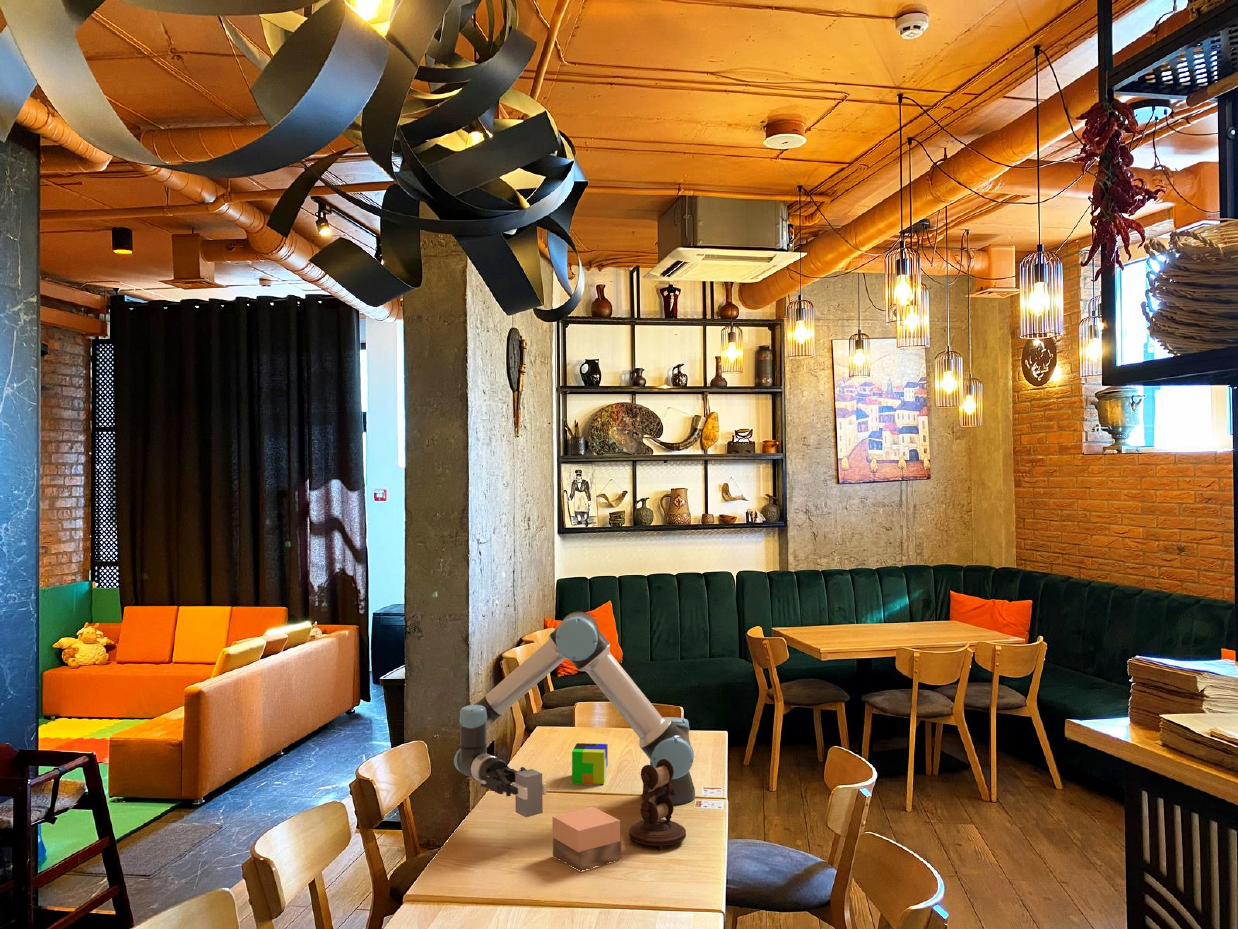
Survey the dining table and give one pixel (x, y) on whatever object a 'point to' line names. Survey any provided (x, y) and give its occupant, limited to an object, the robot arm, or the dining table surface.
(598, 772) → the puzzle toy
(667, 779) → the scroll
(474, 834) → the dining table surface
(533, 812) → the grey block
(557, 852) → the tower bottom
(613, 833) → the tower top
